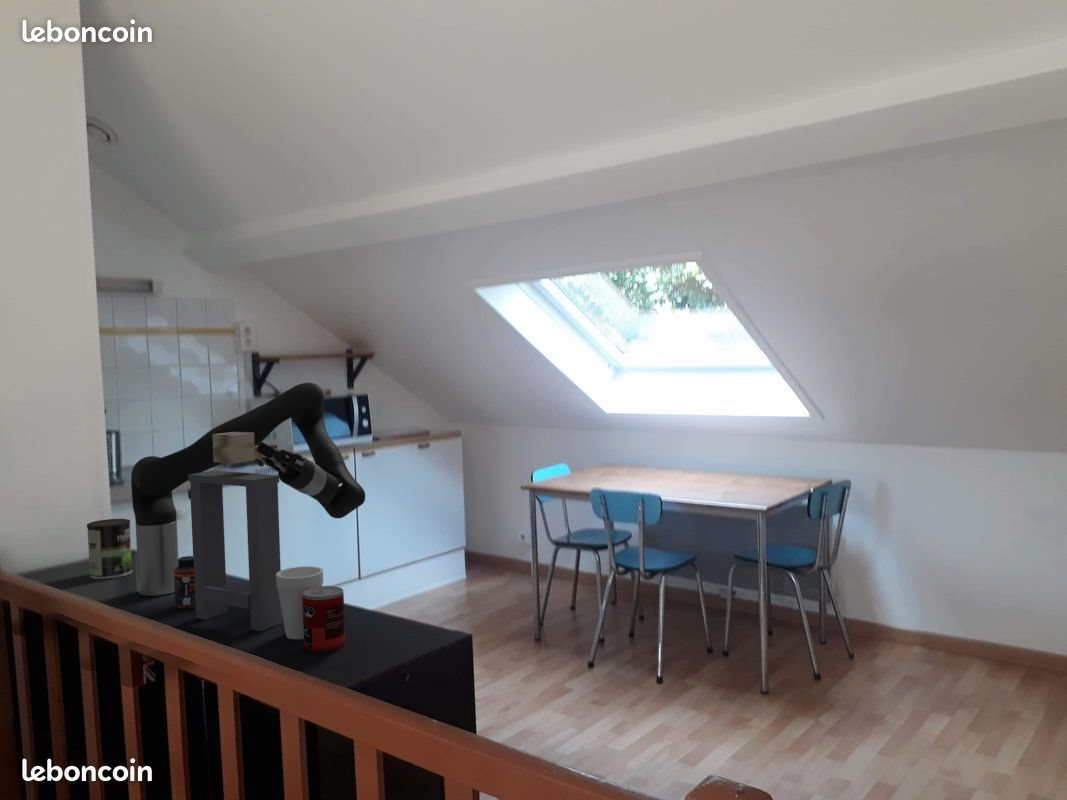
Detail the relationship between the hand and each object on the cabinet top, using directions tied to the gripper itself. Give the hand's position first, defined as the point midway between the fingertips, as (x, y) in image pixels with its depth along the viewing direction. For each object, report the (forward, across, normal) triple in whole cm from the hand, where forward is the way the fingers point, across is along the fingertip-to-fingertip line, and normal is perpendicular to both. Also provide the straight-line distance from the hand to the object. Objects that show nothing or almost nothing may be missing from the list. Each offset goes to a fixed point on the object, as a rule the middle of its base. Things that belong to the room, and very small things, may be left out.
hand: (253, 445), depth 186 cm
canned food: (-11, +28, +38) cm, 48 cm away
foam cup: (-13, +19, +36) cm, 43 cm away
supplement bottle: (-16, -19, +35) cm, 43 cm away
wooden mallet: (0, 0, +3) cm, 3 cm away
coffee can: (-25, -62, +30) cm, 73 cm away
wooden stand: (-14, 0, +36) cm, 38 cm away
